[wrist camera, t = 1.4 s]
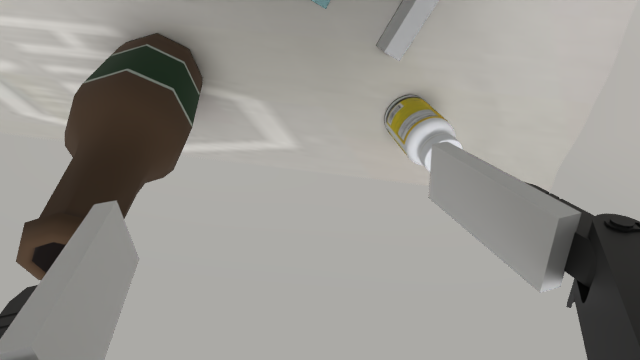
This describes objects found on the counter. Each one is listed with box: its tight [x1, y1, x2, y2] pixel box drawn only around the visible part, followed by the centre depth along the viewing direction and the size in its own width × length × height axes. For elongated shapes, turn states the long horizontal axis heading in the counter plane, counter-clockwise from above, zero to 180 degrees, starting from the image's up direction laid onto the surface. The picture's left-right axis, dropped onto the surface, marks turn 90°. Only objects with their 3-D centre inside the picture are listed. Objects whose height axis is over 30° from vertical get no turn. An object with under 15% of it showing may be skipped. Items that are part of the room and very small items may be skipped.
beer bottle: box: [16, 33, 202, 280], centre depth 24 cm, size 8×8×24 cm
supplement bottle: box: [385, 95, 463, 172], centre depth 38 cm, size 5×5×10 cm
